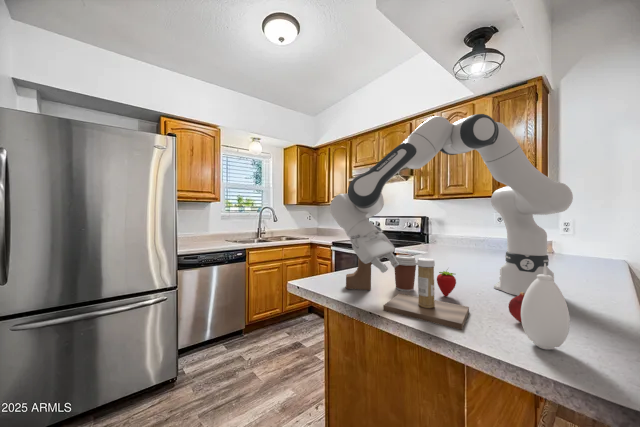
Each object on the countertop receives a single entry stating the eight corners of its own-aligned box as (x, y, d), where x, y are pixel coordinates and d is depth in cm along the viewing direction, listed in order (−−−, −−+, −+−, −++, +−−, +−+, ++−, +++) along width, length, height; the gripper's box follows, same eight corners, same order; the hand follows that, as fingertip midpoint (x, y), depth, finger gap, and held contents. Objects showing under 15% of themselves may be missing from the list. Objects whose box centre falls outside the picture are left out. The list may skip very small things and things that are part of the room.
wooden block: (345, 289, 94) (346, 239, 94) (346, 285, 99) (346, 238, 99) (370, 290, 94) (371, 240, 93) (369, 286, 98) (370, 239, 98)
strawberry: (452, 293, 91) (453, 265, 91) (458, 301, 83) (459, 270, 83) (434, 292, 92) (435, 264, 92) (438, 299, 85) (439, 268, 85)
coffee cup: (422, 289, 95) (423, 257, 95) (408, 294, 90) (408, 259, 90) (401, 283, 102) (402, 253, 102) (386, 287, 97) (387, 255, 97)
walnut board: (399, 297, 86) (399, 293, 86) (468, 312, 74) (469, 306, 74) (383, 310, 75) (383, 305, 75) (461, 329, 63) (461, 323, 63)
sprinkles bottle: (438, 307, 73) (438, 260, 73) (424, 309, 72) (423, 260, 72) (428, 302, 77) (427, 257, 77) (414, 303, 76) (414, 258, 76)
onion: (542, 329, 64) (542, 296, 64) (515, 327, 65) (516, 295, 65) (528, 319, 69) (528, 289, 69) (504, 317, 71) (504, 288, 71)
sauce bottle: (522, 350, 54) (524, 263, 54) (518, 335, 61) (519, 258, 60) (574, 362, 50) (576, 268, 50) (563, 344, 56) (564, 262, 56)
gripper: (354, 229, 76) (385, 267, 70) (382, 227, 93) (409, 257, 87) (341, 243, 79) (370, 281, 73) (370, 238, 95) (395, 269, 90)
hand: (391, 268), depth 80 cm, fingers open, 8 cm apart
